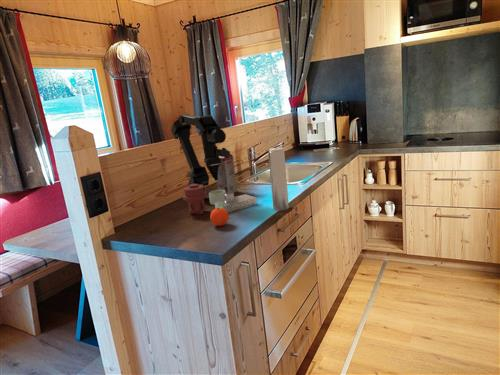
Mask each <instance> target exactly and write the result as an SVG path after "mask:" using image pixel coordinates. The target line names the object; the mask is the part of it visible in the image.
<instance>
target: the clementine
mask: <svg viewBox="0 0 500 375" xmlns="http://www.w3.org/2000/svg"><path fill="white" fill-rule="evenodd" d="M224 208H225V207H224ZM226 210H227V209H226ZM226 210H225V209H223V207H218V208H215V207H214V209H212V211H211V212H210V216H209V218H210V221H211V223H212V224H213V225H215V226H216V227H222V226H224V225H226V224H227V223H228V222H229V212H227V211H226Z"/></svg>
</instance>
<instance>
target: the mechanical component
mask: <svg viewBox="0 0 500 375" xmlns="http://www.w3.org/2000/svg"><path fill="white" fill-rule="evenodd" d="M183 190H184V192H183V193H184V194H183V195H182V196H183V197H182V199H183V201H186V202H187V206H188V211H189V214H190V215H195V214H200V215H201V214H204V210H205V209H206V205H205V199H204V198H206V197H208V194H207V192H206V191H205V192H204V186H203V185H198V184H191V185H189V186H188V185H187V186H185V187H184V188H183Z"/></svg>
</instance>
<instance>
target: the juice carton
mask: <svg viewBox="0 0 500 375" xmlns="http://www.w3.org/2000/svg"><path fill="white" fill-rule="evenodd" d="M226 150H227V151H229V150H228V149H226ZM219 158H220V159H221V163H220V164H221V165H220V166H219V167H218V180H216V183H217V190H225V193H229V192H232V193H236V192H238V187H237V179H236V171H235V162H234V155H233V154H232V153H230V156H229V158H226V157H222V156H219Z"/></svg>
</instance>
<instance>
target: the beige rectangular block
mask: <svg viewBox="0 0 500 375" xmlns="http://www.w3.org/2000/svg"><path fill="white" fill-rule="evenodd" d="M234 193H235V192H234ZM234 193H232V192H229V193H225V194H223V195H224V200H222V201H218V202H214V203H215V205H214V209H215V208H218V207H223V209H225V210H226V209H227V210H226V211H227V212H228V213H232V212H235V211H238V210H241V209H245V208H249V207H252V206H256V205H257V204H258V202H257V197H256V196H252V195H250V194H246V193H245V194H241V195H238V196H237V195H236V196H235V194H234ZM224 207H225V208H224Z"/></svg>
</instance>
